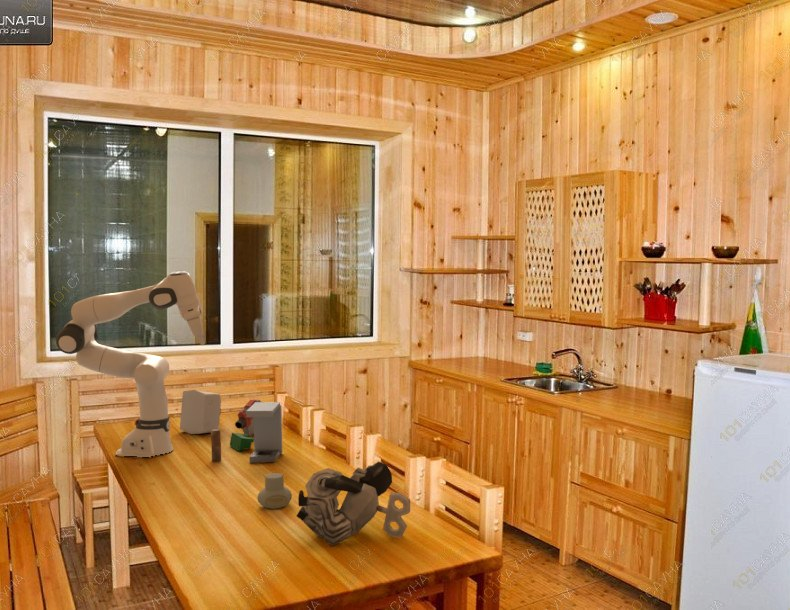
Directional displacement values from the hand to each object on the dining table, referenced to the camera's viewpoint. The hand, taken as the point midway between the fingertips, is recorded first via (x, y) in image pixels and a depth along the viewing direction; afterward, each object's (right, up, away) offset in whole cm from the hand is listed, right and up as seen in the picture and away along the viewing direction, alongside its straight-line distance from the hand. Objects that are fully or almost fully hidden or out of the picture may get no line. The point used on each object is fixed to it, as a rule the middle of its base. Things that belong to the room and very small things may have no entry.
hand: (202, 341), depth 296 cm
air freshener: (+39, -50, -59) cm, 86 cm away
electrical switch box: (-11, -43, +44) cm, 62 cm away
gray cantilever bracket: (+26, -46, -5) cm, 53 cm away
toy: (+65, -52, -82) cm, 117 cm away
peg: (+7, -47, -6) cm, 48 cm away
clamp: (+13, -46, +12) cm, 49 cm away
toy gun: (+12, -44, +34) cm, 57 cm away
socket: (+26, -46, -5) cm, 53 cm away
